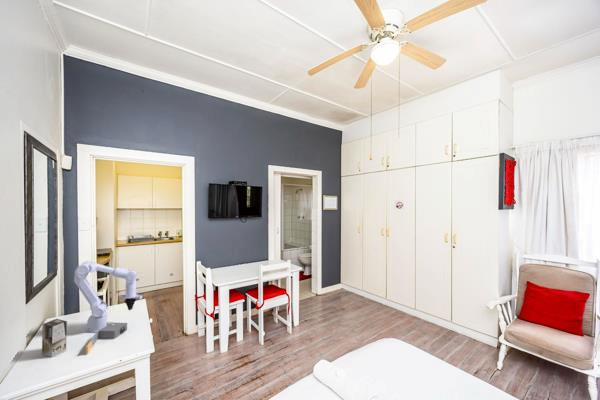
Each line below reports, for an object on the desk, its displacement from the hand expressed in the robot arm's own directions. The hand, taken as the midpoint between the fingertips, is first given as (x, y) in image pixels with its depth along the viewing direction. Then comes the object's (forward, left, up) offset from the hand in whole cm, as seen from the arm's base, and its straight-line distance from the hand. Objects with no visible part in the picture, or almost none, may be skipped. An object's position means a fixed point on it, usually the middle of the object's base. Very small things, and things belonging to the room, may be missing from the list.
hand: (130, 309), depth 162 cm
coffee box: (-18, -32, -10) cm, 38 cm away
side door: (-2, -26, -9) cm, 27 cm away
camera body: (-1, -13, -9) cm, 16 cm away
